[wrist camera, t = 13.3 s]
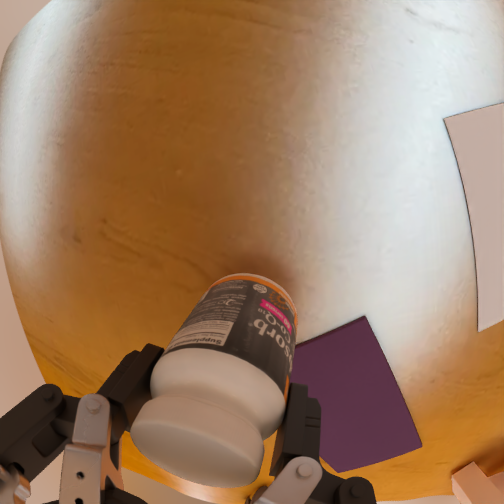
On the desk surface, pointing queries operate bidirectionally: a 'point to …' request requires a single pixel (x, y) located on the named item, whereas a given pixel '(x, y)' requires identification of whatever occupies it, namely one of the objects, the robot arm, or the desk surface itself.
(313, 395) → the cloth
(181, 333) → the pill bottle
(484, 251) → the paper stack
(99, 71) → the desk surface
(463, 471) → the pile of blocks
